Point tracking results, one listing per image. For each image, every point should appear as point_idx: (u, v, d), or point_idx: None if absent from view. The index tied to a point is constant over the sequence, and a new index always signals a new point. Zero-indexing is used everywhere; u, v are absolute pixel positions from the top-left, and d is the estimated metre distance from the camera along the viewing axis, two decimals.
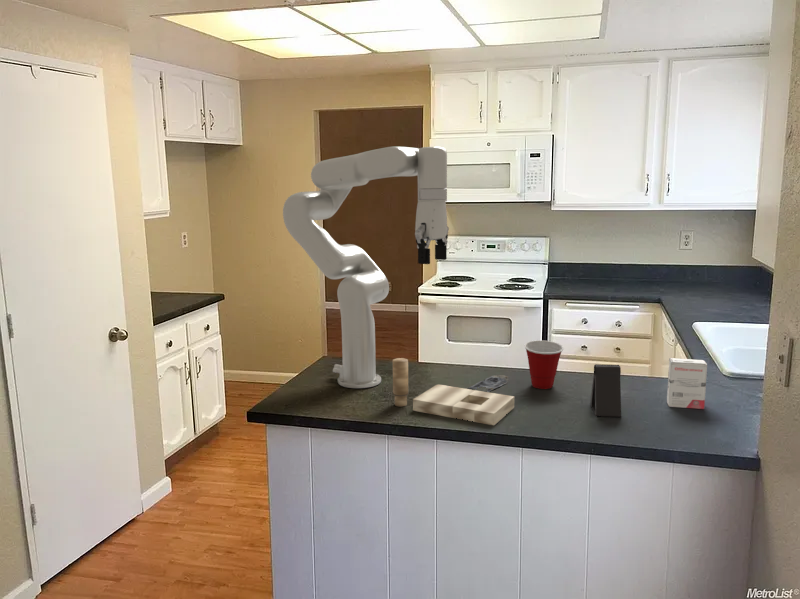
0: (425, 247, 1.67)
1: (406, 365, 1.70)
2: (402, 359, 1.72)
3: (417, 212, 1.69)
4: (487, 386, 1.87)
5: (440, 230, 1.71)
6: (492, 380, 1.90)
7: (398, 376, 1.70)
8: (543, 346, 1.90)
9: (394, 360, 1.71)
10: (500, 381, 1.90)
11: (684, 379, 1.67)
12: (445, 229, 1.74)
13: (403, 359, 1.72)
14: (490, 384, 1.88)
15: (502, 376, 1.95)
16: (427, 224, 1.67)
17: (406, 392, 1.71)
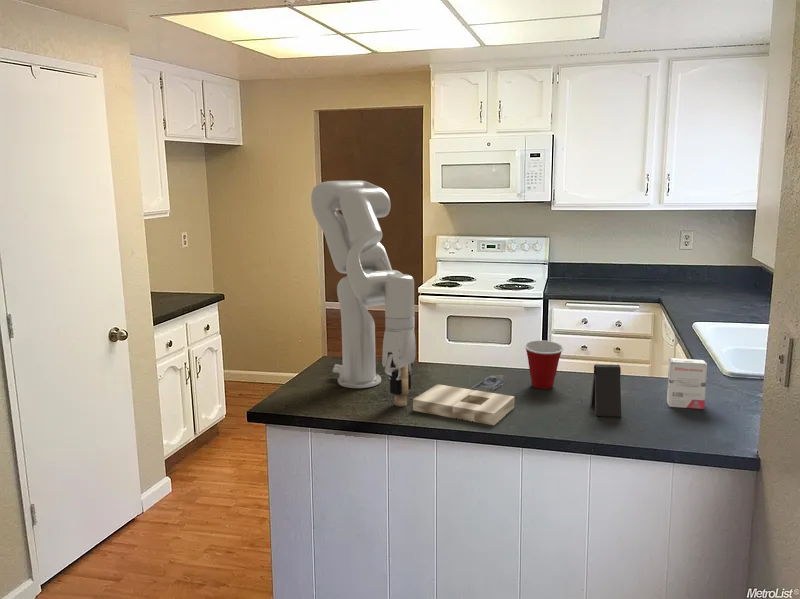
0: (397, 379, 1.68)
1: (406, 365, 1.70)
2: None
3: (384, 341, 1.67)
4: (488, 386, 1.87)
5: (408, 357, 1.70)
6: (491, 380, 1.91)
7: None
8: (543, 346, 1.90)
9: None
10: (499, 381, 1.91)
11: (684, 379, 1.67)
12: (413, 354, 1.73)
13: None
14: (490, 384, 1.88)
15: (500, 376, 1.95)
16: (394, 354, 1.66)
17: (406, 392, 1.71)
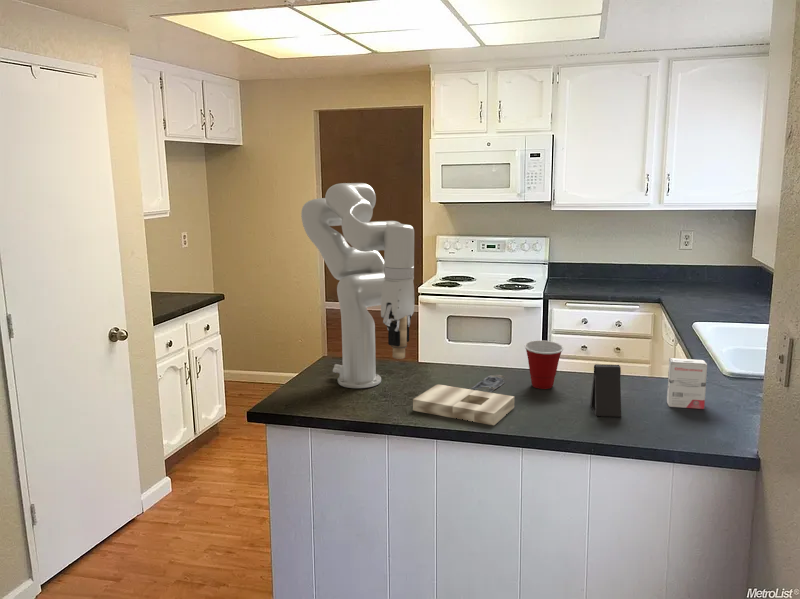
0: (395, 330, 1.66)
1: (405, 317, 1.68)
2: None
3: (383, 291, 1.65)
4: (488, 386, 1.87)
5: (406, 308, 1.68)
6: (491, 380, 1.91)
7: None
8: (543, 346, 1.90)
9: None
10: (499, 381, 1.91)
11: (684, 379, 1.67)
12: (412, 306, 1.71)
13: None
14: (490, 384, 1.88)
15: (498, 376, 1.96)
16: (392, 304, 1.64)
17: (404, 344, 1.70)
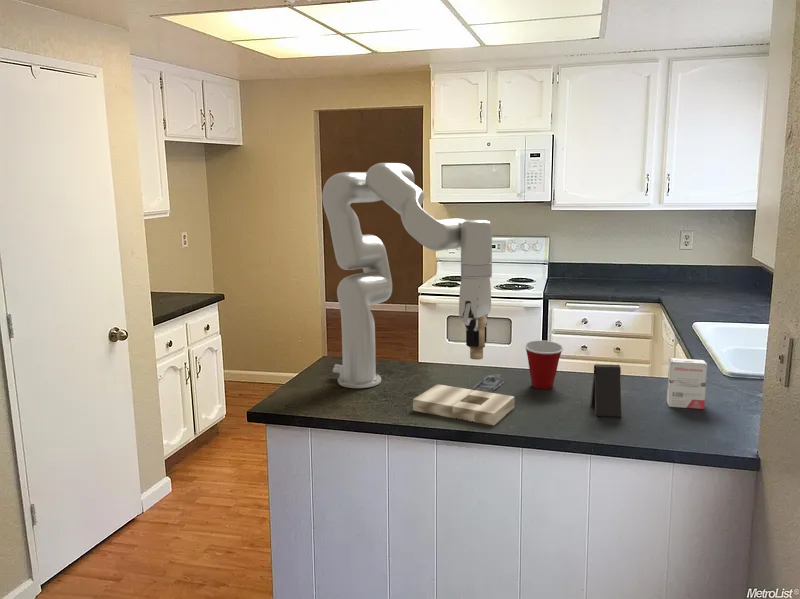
0: (474, 330, 1.60)
1: None
2: None
3: (461, 289, 1.59)
4: (488, 386, 1.87)
5: (485, 307, 1.62)
6: (490, 380, 1.91)
7: None
8: (543, 346, 1.90)
9: None
10: (498, 380, 1.91)
11: (684, 379, 1.67)
12: (489, 305, 1.65)
13: None
14: (490, 384, 1.88)
15: (497, 375, 1.96)
16: (472, 302, 1.58)
17: (483, 344, 1.63)
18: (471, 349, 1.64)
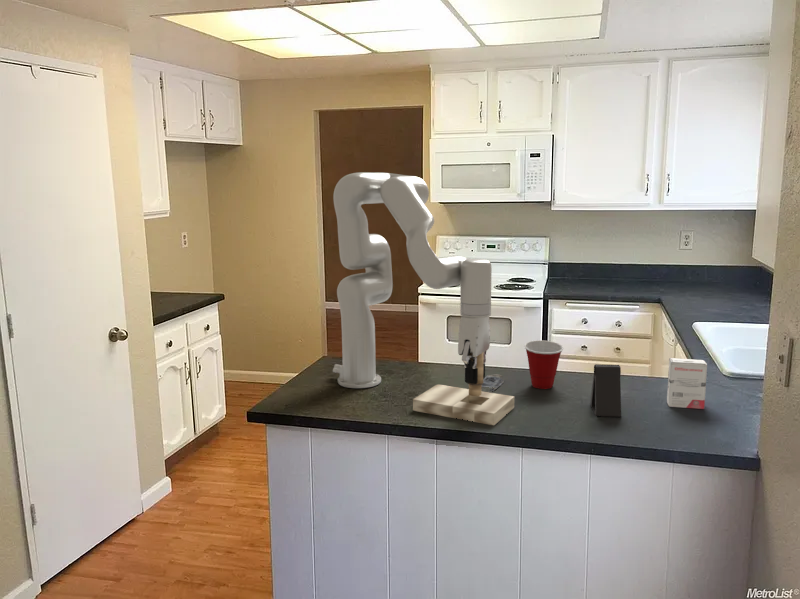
0: (473, 367, 1.62)
1: (482, 353, 1.64)
2: None
3: (460, 328, 1.61)
4: (488, 386, 1.87)
5: (483, 345, 1.64)
6: (490, 380, 1.91)
7: None
8: (543, 346, 1.90)
9: None
10: (498, 380, 1.91)
11: (684, 379, 1.67)
12: (488, 342, 1.66)
13: None
14: (490, 384, 1.88)
15: (496, 375, 1.96)
16: (471, 341, 1.60)
17: (481, 381, 1.65)
18: (470, 386, 1.66)
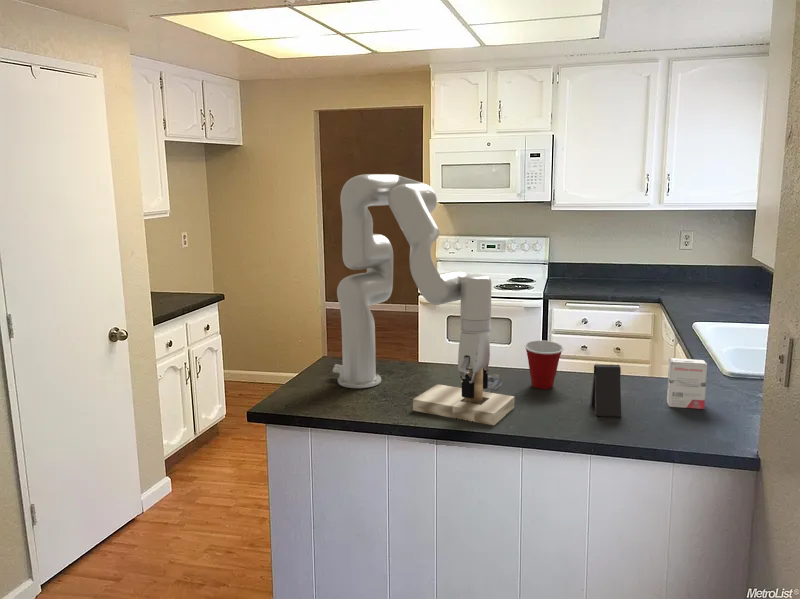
0: (470, 382, 1.61)
1: (481, 370, 1.65)
2: None
3: (460, 344, 1.61)
4: (488, 386, 1.87)
5: (483, 360, 1.64)
6: (489, 380, 1.91)
7: (473, 381, 1.64)
8: (543, 346, 1.90)
9: None
10: (497, 380, 1.91)
11: (684, 379, 1.67)
12: (488, 357, 1.67)
13: None
14: (490, 384, 1.88)
15: (495, 375, 1.96)
16: (471, 357, 1.60)
17: (481, 398, 1.66)
18: None
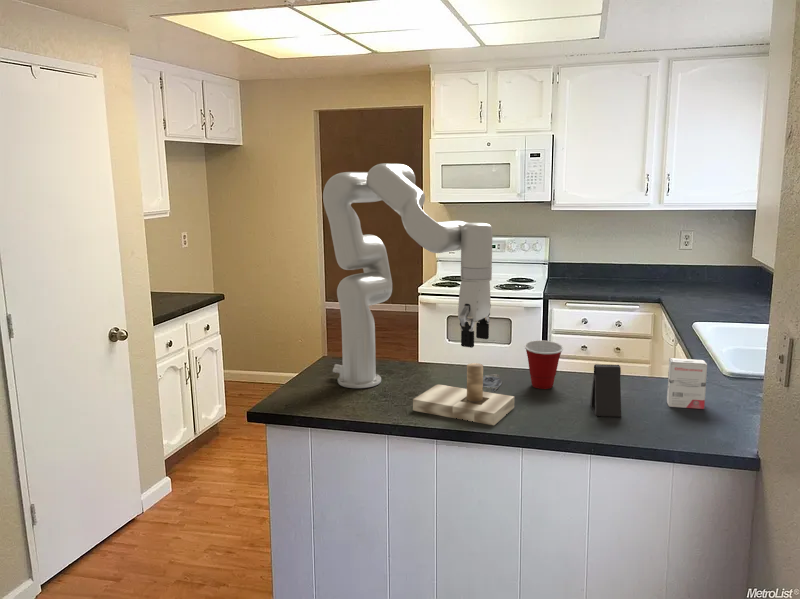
0: (469, 330, 1.58)
1: (481, 370, 1.65)
2: (476, 364, 1.66)
3: (460, 292, 1.59)
4: (488, 386, 1.87)
5: (484, 310, 1.62)
6: (489, 380, 1.91)
7: (473, 381, 1.64)
8: (543, 346, 1.90)
9: (469, 365, 1.66)
10: (497, 380, 1.91)
11: (684, 379, 1.67)
12: (488, 307, 1.65)
13: (478, 364, 1.66)
14: (490, 384, 1.88)
15: (494, 375, 1.96)
16: (471, 305, 1.58)
17: (481, 398, 1.66)
18: None
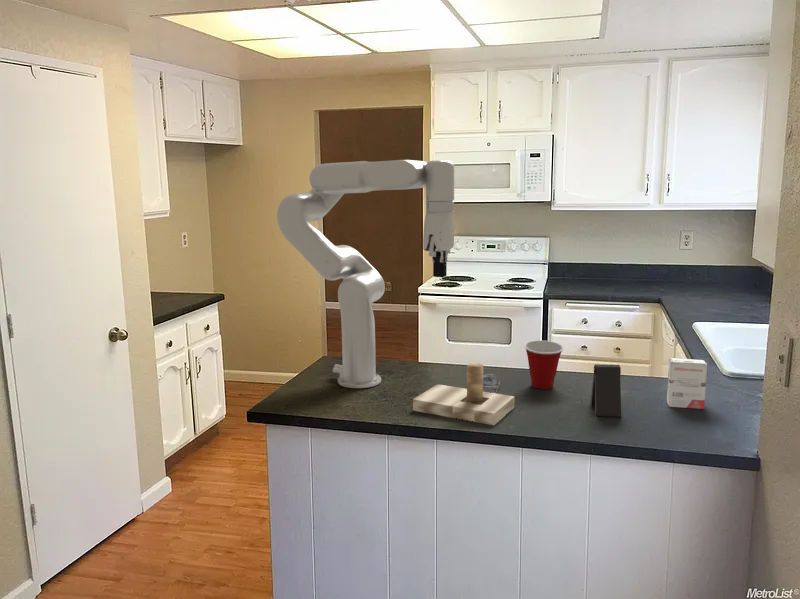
0: (440, 261, 1.75)
1: (482, 370, 1.65)
2: (477, 364, 1.66)
3: (425, 224, 1.73)
4: (489, 386, 1.87)
5: (447, 241, 1.75)
6: (488, 379, 1.91)
7: (473, 381, 1.64)
8: (543, 346, 1.90)
9: (469, 365, 1.66)
10: (495, 379, 1.92)
11: (684, 379, 1.67)
12: (452, 240, 1.78)
13: (478, 364, 1.66)
14: (490, 383, 1.89)
15: (490, 375, 1.97)
16: (435, 236, 1.71)
17: (481, 398, 1.66)
18: None
